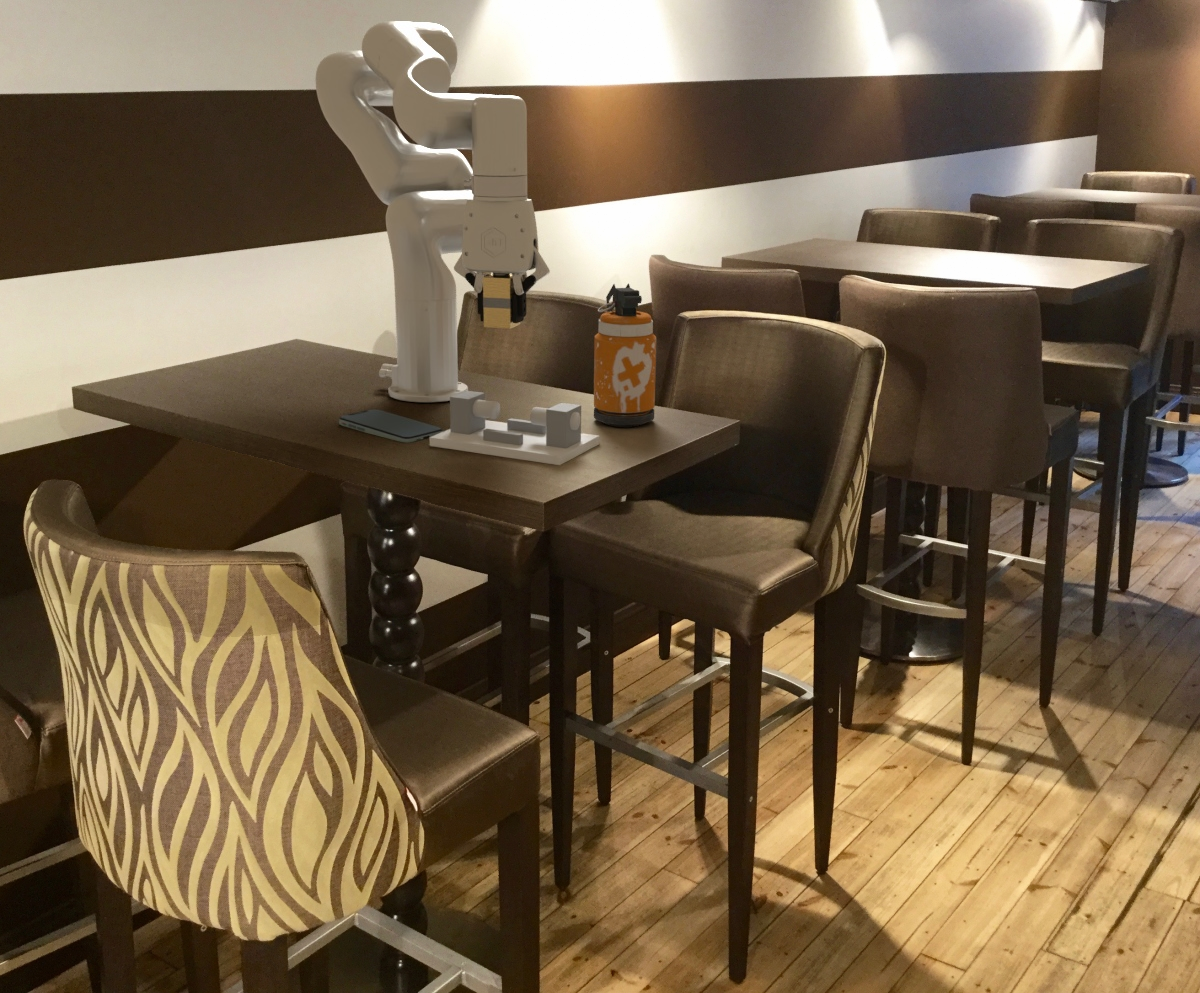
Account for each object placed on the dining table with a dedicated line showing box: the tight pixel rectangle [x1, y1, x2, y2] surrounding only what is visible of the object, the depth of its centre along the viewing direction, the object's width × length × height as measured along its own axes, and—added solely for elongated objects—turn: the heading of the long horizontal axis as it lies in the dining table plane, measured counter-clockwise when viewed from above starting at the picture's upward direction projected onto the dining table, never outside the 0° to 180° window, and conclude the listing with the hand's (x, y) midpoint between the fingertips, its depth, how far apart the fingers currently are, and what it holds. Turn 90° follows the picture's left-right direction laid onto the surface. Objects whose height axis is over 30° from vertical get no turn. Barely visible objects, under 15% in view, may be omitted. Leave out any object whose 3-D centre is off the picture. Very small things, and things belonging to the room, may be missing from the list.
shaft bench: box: [428, 390, 601, 466], centre depth 175 cm, size 20×12×6 cm, turn 64°
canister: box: [593, 283, 657, 428], centre depth 187 cm, size 9×11×20 cm
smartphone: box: [338, 408, 444, 443], centre depth 183 cm, size 8×2×15 cm
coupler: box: [483, 273, 521, 329], centre depth 181 cm, size 4×4×8 cm
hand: (502, 319), depth 181 cm, fingers closed on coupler, 4 cm apart
